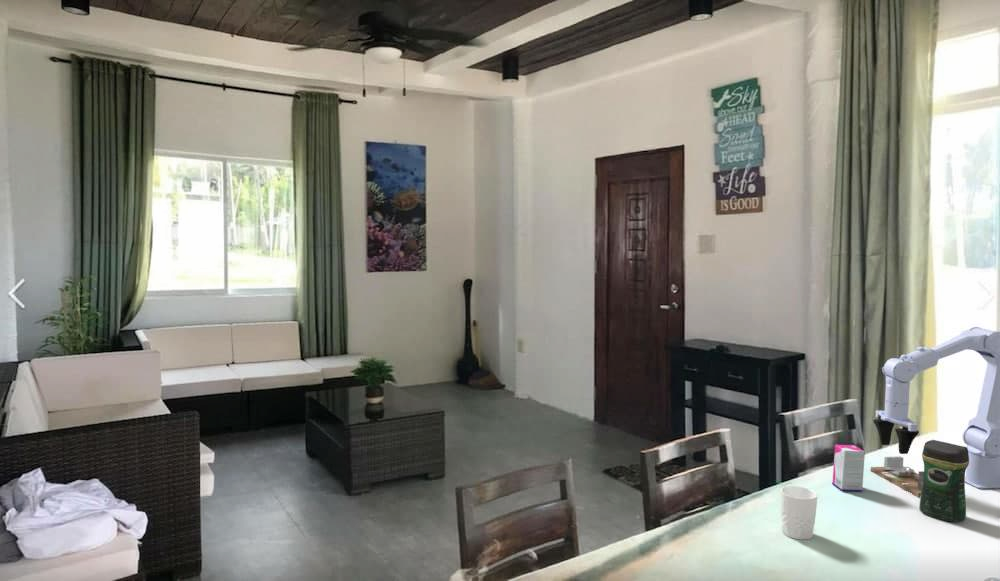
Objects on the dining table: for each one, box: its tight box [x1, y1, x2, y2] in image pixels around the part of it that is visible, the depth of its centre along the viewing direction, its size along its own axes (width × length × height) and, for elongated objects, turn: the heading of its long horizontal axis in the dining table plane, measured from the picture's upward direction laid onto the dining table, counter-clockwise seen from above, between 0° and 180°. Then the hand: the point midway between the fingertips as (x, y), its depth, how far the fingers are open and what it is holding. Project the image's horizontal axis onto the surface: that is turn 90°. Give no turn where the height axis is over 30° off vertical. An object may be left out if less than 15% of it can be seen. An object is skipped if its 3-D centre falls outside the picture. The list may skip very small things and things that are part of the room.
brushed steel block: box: [883, 456, 916, 477], centre depth 195 cm, size 8×8×4 cm
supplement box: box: [832, 444, 866, 493], centre depth 187 cm, size 6×6×12 cm
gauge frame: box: [870, 466, 924, 498], centre depth 191 cm, size 20×10×6 cm, turn 5°
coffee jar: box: [918, 439, 969, 522], centre depth 169 cm, size 10×8×19 cm
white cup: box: [780, 485, 819, 541], centre depth 159 cm, size 8×8×10 cm
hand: (894, 449), depth 191 cm, fingers open, 7 cm apart
